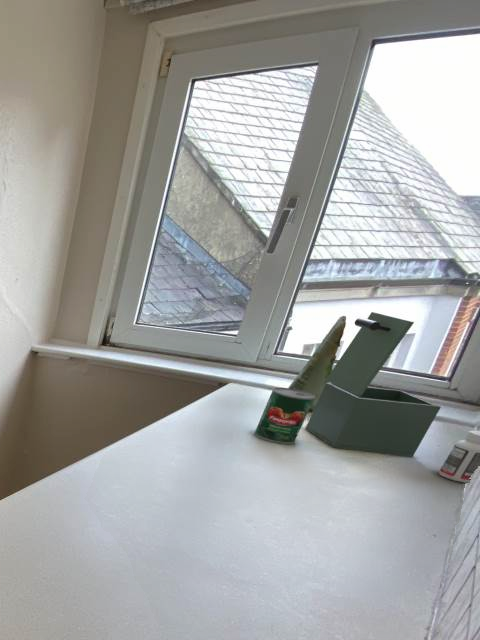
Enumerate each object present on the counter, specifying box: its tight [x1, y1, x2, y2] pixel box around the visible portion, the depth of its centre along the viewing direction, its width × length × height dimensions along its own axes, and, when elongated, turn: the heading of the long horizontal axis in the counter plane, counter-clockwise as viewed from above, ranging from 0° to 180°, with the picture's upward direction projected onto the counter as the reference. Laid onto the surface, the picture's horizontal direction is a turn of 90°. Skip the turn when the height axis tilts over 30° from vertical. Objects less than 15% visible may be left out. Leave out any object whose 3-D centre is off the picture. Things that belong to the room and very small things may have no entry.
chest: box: [304, 382, 442, 458], centre depth 126 cm, size 16×13×12 cm
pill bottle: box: [438, 430, 480, 484], centre depth 110 cm, size 5×5×10 cm
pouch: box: [287, 315, 347, 411], centre depth 147 cm, size 11×12×25 cm
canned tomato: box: [253, 387, 315, 445], centre depth 126 cm, size 8×8×11 cm
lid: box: [326, 311, 415, 396], centre depth 121 cm, size 16×13×5 cm
